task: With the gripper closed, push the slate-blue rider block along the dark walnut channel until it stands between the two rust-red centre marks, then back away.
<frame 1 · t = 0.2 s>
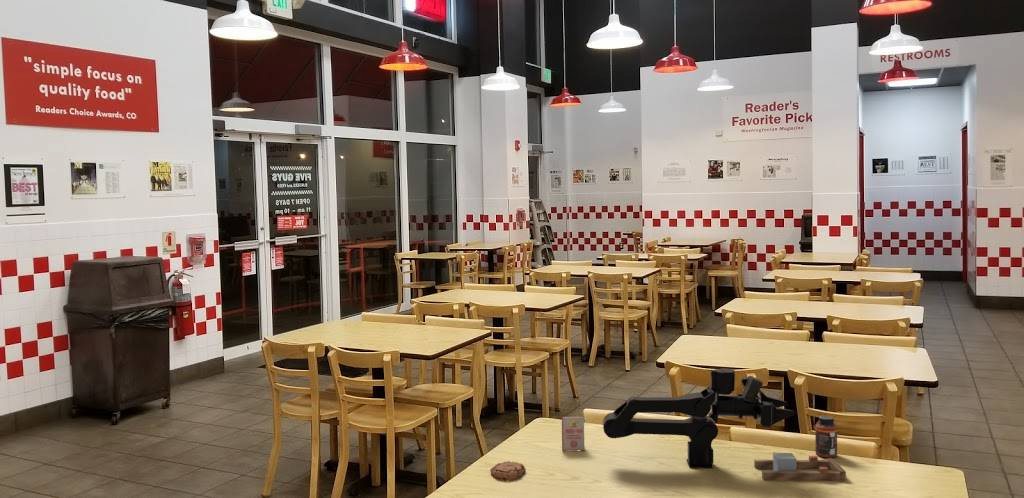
hand: (790, 408, 224), 16 cm above the table, tool horizontal, fingers open, 9 cm apart
supplement bottle: (826, 455, 233), on the table
cookie: (508, 475, 223), on the table
channel: (795, 473, 218), on the table
product box: (573, 449, 244), on the table
rider: (784, 473, 218), resting in channel
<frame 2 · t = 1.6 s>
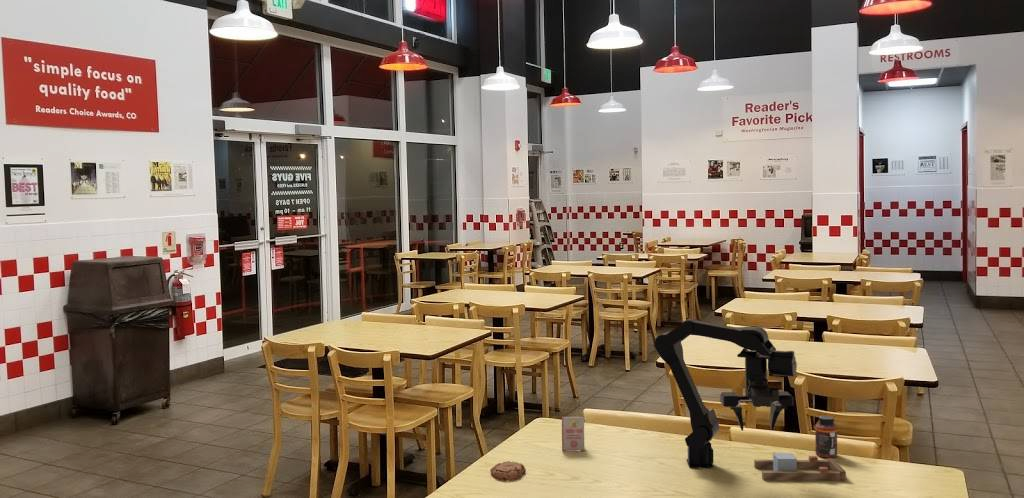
hand: (756, 430, 218), 12 cm above the table, tool pointing down, fingers open, 8 cm apart
nothing on the table moved.
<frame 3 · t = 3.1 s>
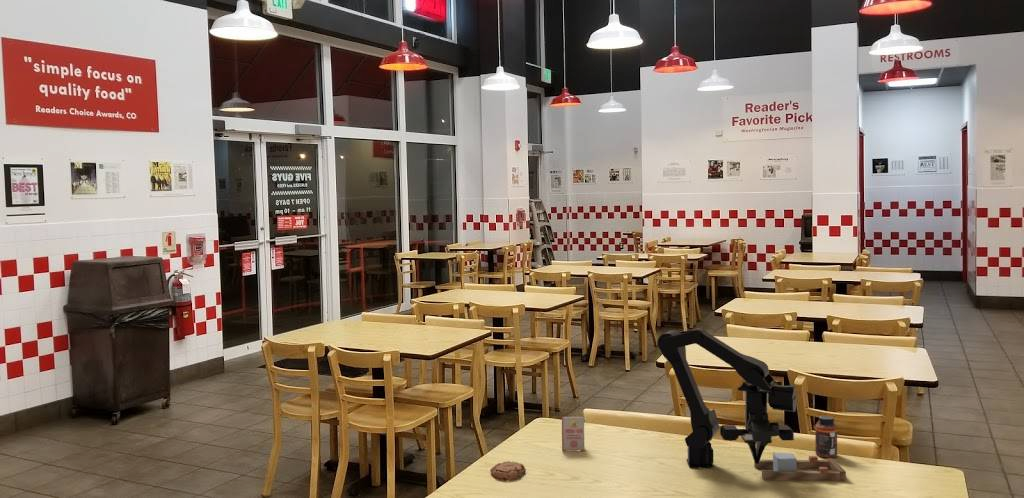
hand: (756, 463, 219), 3 cm above the table, tool pointing down, fingers closed
nothing on the table moved.
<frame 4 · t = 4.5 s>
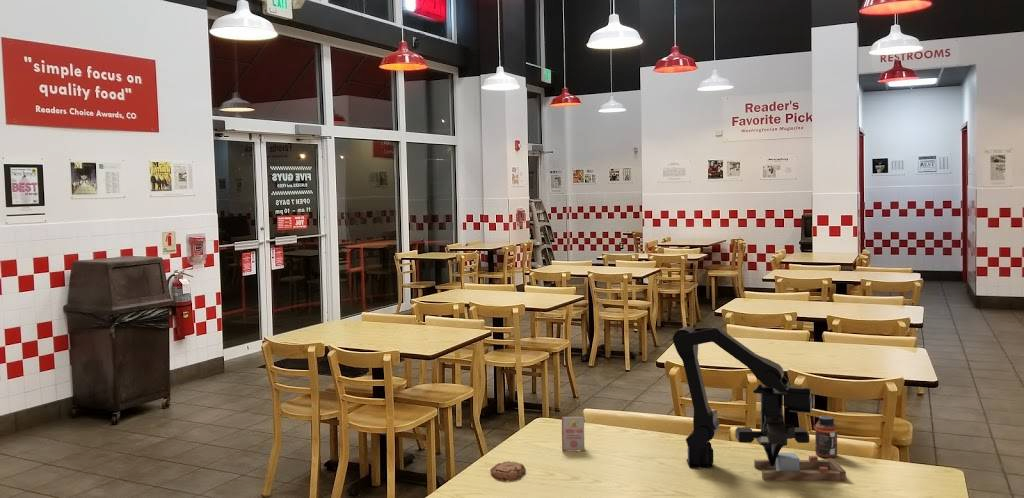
hand: (771, 465, 219), 2 cm above the table, tool pointing down, fingers closed
rider: (787, 473, 218), resting in channel, touching gripper
everything else where it was.
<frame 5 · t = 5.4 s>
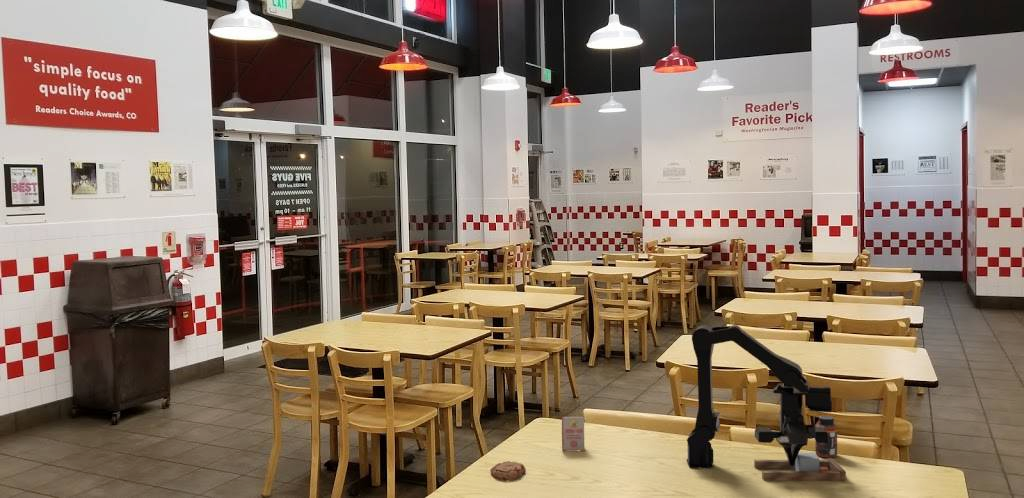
hand: (791, 465, 218), 2 cm above the table, tool pointing down, fingers closed
rider: (807, 473, 218), resting in channel, touching gripper
everything else where it was.
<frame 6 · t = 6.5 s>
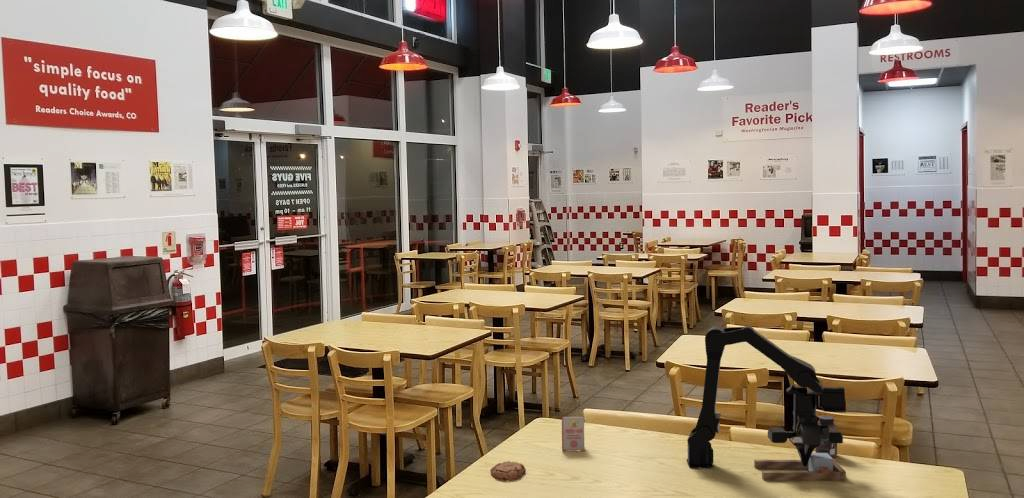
hand: (804, 466, 218), 2 cm above the table, tool pointing down, fingers closed
rider: (820, 473, 218), resting in channel, touching gripper
everything else where it was.
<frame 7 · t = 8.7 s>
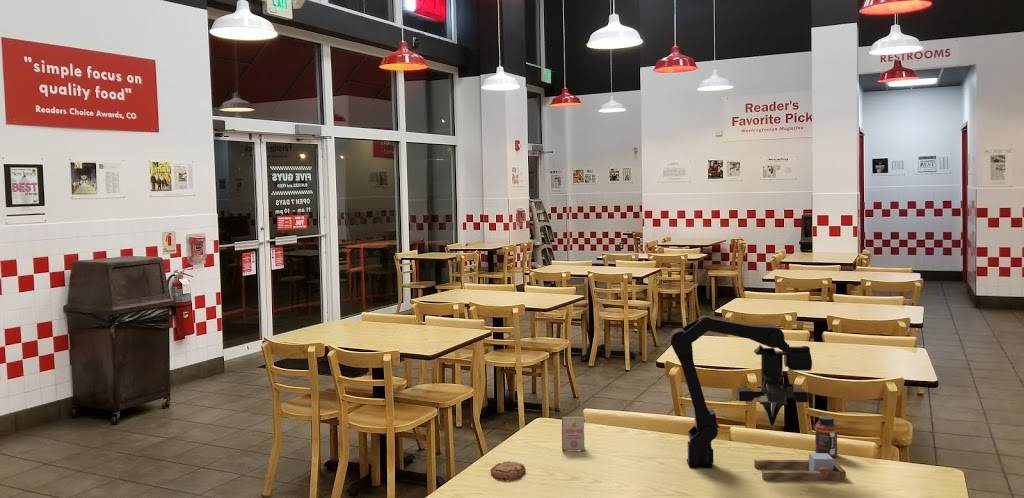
hand: (771, 424, 224), 12 cm above the table, tool pointing down, fingers closed
rider: (821, 474, 218), resting in channel
everything else where it was.
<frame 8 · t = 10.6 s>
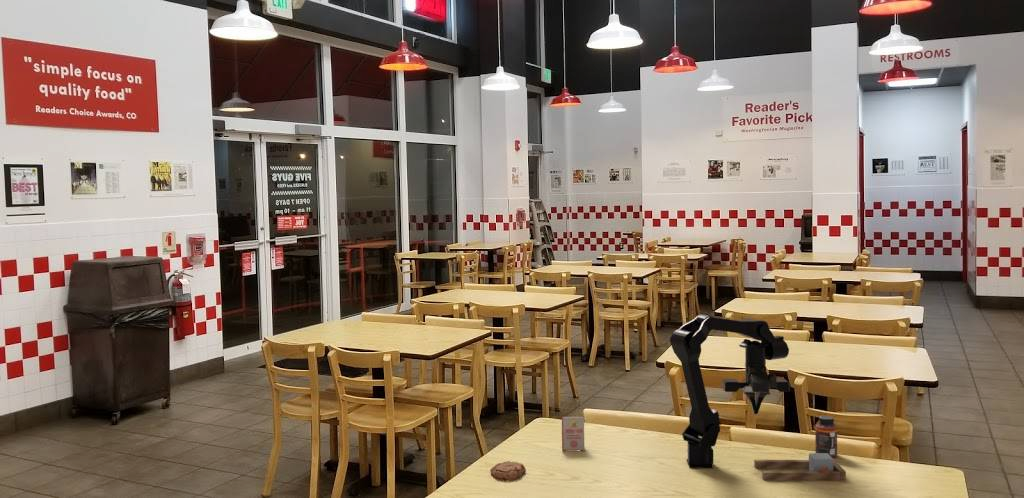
hand: (755, 413, 235), 12 cm above the table, tool pointing down, fingers closed
nothing on the table moved.
at the end: rider 0.4 cm from the target spot, resting in channel; rider tilted 0°; rider touching table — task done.
